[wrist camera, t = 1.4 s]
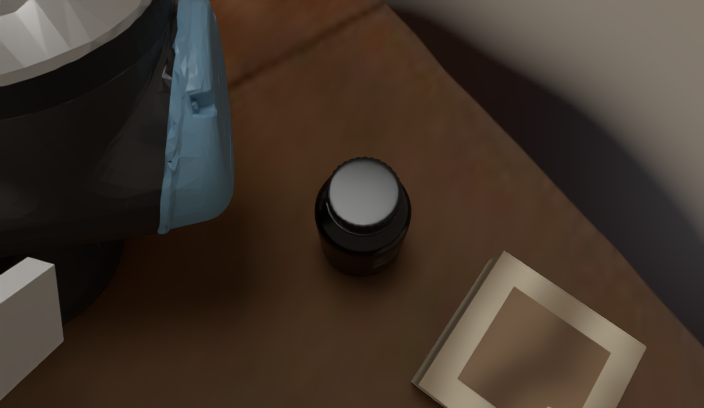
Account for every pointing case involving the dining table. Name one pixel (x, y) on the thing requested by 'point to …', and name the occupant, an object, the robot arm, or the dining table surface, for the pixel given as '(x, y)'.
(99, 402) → the dining table surface
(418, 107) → the dining table surface
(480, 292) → the plate
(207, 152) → the robot arm
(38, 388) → the dining table surface
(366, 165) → the supplement bottle
